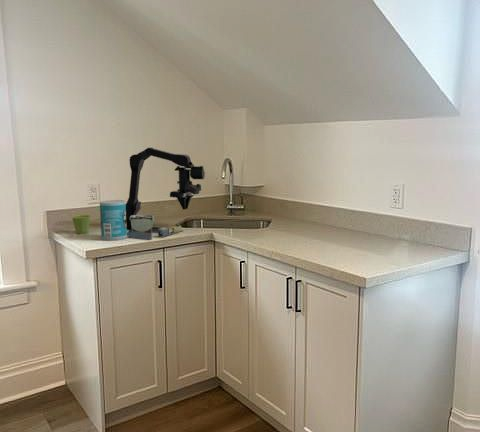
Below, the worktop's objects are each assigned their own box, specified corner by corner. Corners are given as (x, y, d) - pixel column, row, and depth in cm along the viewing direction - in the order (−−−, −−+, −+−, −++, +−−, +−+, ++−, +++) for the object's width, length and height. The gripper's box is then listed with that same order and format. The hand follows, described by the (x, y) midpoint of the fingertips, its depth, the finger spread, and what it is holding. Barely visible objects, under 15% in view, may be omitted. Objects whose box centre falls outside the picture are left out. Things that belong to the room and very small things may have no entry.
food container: (157, 233, 245) (156, 214, 244) (154, 236, 239) (153, 216, 238) (133, 233, 246) (133, 214, 245) (129, 236, 240) (129, 216, 239)
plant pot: (77, 235, 243) (76, 218, 241) (69, 233, 250) (68, 216, 248) (94, 233, 249) (93, 216, 247) (87, 230, 256) (86, 214, 254)
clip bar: (172, 233, 246) (171, 226, 245) (179, 231, 251) (178, 224, 250) (174, 233, 245) (174, 226, 244) (181, 231, 250) (181, 224, 250)
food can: (132, 237, 236) (130, 201, 233) (111, 242, 227) (109, 203, 224) (117, 234, 244) (115, 199, 241) (96, 238, 234) (94, 201, 232)
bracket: (125, 237, 238) (125, 231, 238) (146, 231, 252) (146, 225, 252) (150, 239, 231) (149, 233, 230) (170, 233, 245) (170, 227, 245)
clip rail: (157, 237, 236) (157, 229, 236) (178, 231, 252) (178, 223, 251) (162, 238, 235) (162, 229, 234) (183, 231, 250) (182, 224, 250)
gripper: (187, 181, 239) (187, 212, 241) (207, 178, 255) (207, 207, 257) (168, 180, 244) (169, 211, 246) (189, 177, 260) (190, 206, 263)
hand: (185, 209), depth 253 cm, fingers closed
